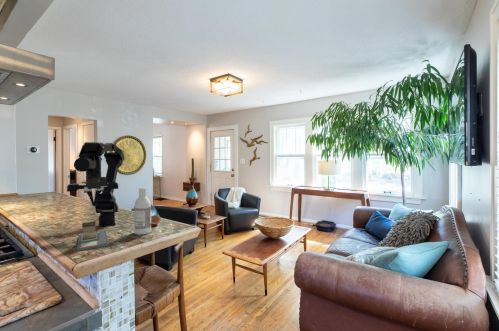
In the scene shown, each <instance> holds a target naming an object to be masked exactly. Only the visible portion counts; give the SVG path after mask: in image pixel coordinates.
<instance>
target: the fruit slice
mask: <svg viewBox="0 0 499 331" xmlns="http://www.w3.org/2000/svg"><path fill="white" fill-rule="evenodd" d="M160 223H161V216H160V215H159V214H155V215H151V227H155V226H157V225H159V224H160Z"/></svg>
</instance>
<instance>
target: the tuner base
mask: <svg viewBox="0 0 499 331" xmlns="http://www.w3.org/2000/svg"><path fill="white" fill-rule="evenodd" d="M95 235H96V238H95V239H88V240H82V238H83V233H78V235H77V236H78V239H77V242H78V243H77V247H76V251H77V252H78V251H79V252H80V251H87V250H91V249H98V248H99V249H100V248H104V247H109V242H108V235H107V230H100V231H95Z"/></svg>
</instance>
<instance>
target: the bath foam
mask: <svg viewBox="0 0 499 331" xmlns="http://www.w3.org/2000/svg"><path fill="white" fill-rule="evenodd" d="M133 206H134V207H133V228H134V229H133V233H134V234H135V235H140V236H141V235H149V234H150V233H151V231H152V226H151V217H152V204H151V201H150V199H149V198H148V196H147V187H139V188H138V197H137V198H136V200H135V201H134V205H133Z"/></svg>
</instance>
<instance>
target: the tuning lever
mask: <svg viewBox="0 0 499 331" xmlns="http://www.w3.org/2000/svg"><path fill="white" fill-rule="evenodd" d="M81 228H82V234H83V238H82V240H88V239H95V238H96V235H95V232H96V221H87V222H82V224H81Z"/></svg>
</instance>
